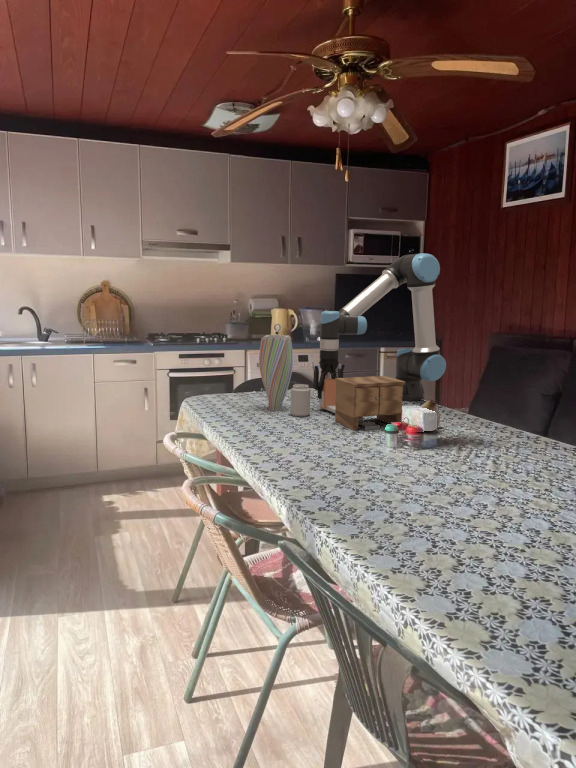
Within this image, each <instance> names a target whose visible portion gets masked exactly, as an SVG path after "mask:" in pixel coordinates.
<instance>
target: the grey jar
mask: <svg viewBox="0 0 576 768" xmlns="http://www.w3.org/2000/svg"><path fill="white" fill-rule="evenodd" d="M310 413H311V388H310V387H309V384H303V383H298V384H293V385H292V387H291V389H290V414H291V415H292V416H293V417H297V416H299V417H298V418H300V417H303V416H304V417H307V416H308V415H310ZM304 417H303V418H304Z"/></svg>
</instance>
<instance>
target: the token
mask: <svg viewBox="0 0 576 768" xmlns="http://www.w3.org/2000/svg"><path fill="white" fill-rule="evenodd" d="M358 429H360V430H362V431H364V432H368V431H371V432H372V431H379V430H380V429H381V425H379V424H377V423H375V422H373V421H363V422H358Z"/></svg>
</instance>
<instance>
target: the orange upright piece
mask: <svg viewBox="0 0 576 768" xmlns="http://www.w3.org/2000/svg"><path fill="white" fill-rule="evenodd" d="M322 391H324V407H320V406H319V405H318V406H319V408H320V409H323V410H326V411H328V412H331V413H333V414H335V408H336V381H335V379H332V377H326V378H325V380H324V386H323V389H322ZM361 422H365V417H358V423H361Z"/></svg>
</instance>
